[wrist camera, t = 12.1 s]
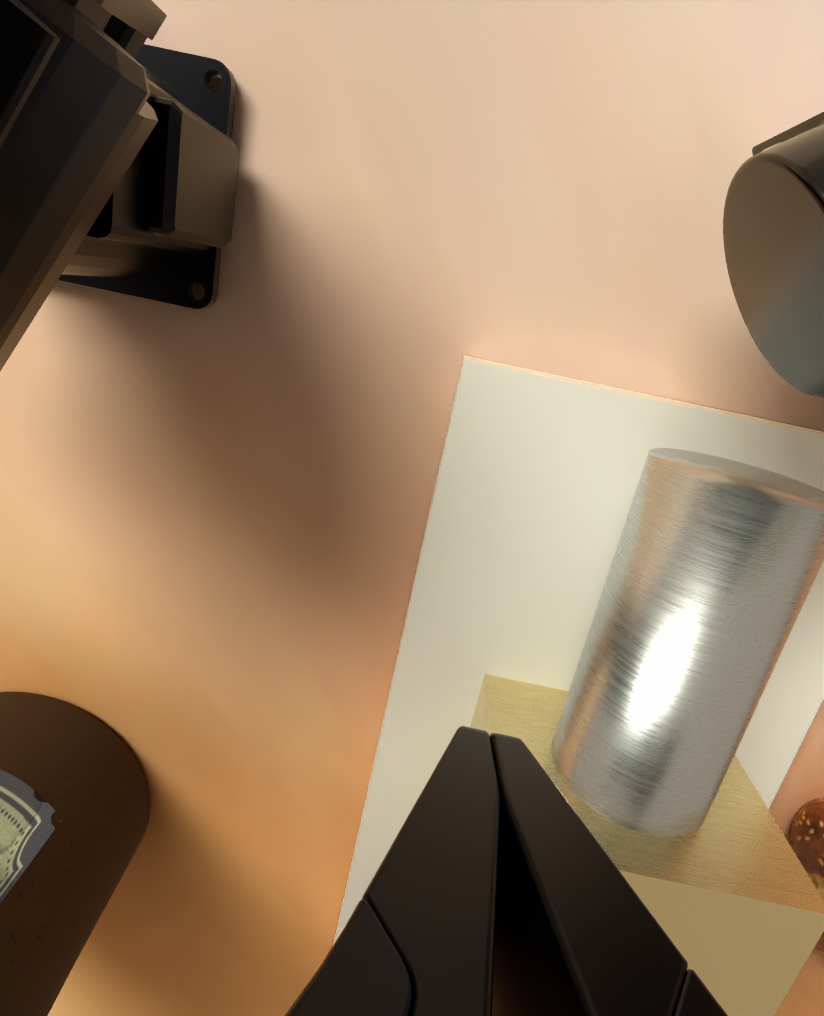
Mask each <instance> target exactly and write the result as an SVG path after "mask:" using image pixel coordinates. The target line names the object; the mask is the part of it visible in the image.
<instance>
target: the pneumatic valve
mask: <svg viewBox="0 0 824 1016" xmlns="http://www.w3.org/2000/svg"><path fill="white" fill-rule="evenodd" d="M752 152H753V156H752V157H751V158H749V159H748V160H746V161H745V162H744V163H743V164H742V165H741V166H740V168H739V169H738V170H737V172H736V173H735V175H734V177H733V179H732V181H731V184H730V186H729V189H728V192H727V196H726V201H725V207H724V217H723V238H724V250H725V257H726V263H727V269H728V273H729V278H730V282H731V286H732V289H733V292H734V296H735V298H736V301H737V304H738V307H739V309H740V312H741V314H742V317H743V319H744V322H745V324H746V326H747V328H748V330H749V332H750V334H751V336H752V338H753V339H754V341H755V343H756V345H757V346H758V348H759V350H760V351H761V353H762V354H763V355H764V357H765V358H766V360H767V361H768V362H769V364H770V365H771V366H772V367H773V368H774V370H775V371H776V372H777V373H778V374H779V375H780V376H781V377H782V378H784V379H785V380H786V381H787V382H788V383H789V384H791V385H792V386H794V387H795V388H797V389H798V390H800V391H802V392H805V393H807V394H810V395H813V396H818V397H824V112H822V113H820V114H818V115H816V116H814V117H812V118H810V119H808V120H807V121H805V122H803V123H801V124H799V125H797V126H795V127H793V128H791V129H789V130H787V131H785V132H783V133H781V134H779V135H777V136H775V137H773V138H771V139H769V140H767V141H765V142H763V143H761V144H759V145H757V146H755V147H753V149H752Z"/></svg>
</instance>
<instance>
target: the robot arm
mask: <svg viewBox="0 0 824 1016" xmlns="http://www.w3.org/2000/svg"><path fill="white" fill-rule="evenodd" d="M166 16H167V15H166V14H165V13H164V12H163V11H162V10H161V9H160V8H159V7H158V6H157V5H156V4H155V3H153V2H152V1H151V0H0V371H1V369H2V368H3V366H4V365H5V363H6V361H7V360H8V358H9V357H10V355H11V353H12V352H13V350H14V349H15V347H16V346H17V344H18V342H19V341H20V339H21V338H22V336H23V334H24V333H25V331H26V330H27V328H28V327H29V325H30V323H31V322H32V320H33V319H34V317H35V315H36V314H37V312H38V311H39V309H40V308H41V306H42V304H43V303H44V301H45V300H46V298H47V296H48V295H49V293H50V292H51V290H52V288H53V287H54V285H55V284H56V282H57V281H58V280H62V281H67V282H71V283H76V284H81V285H86V286H90V287H95V288H100V289H104V290H109V291H114V292H119V293H123V294H128V295H133V296H137V297H142V298H147V299H152V300H156V301H161V302H166V303H170V304H175V305H180V306H185V307H189V308H194V309H205V308H208V307H210V306H212V305H213V304H214V302H215V301H216V298H217V293H218V282H219V271H220V260H221V249H222V248H224V247H225V246H226V245H227V244H228V243H230V241H231V236H232V225H233V215H234V204H235V194H236V183H237V173H238V162H239V149H238V148H237V146H236V145H235V143H234V142H233V140H232V128H233V117H234V106H235V95H236V82H235V79H234V76H233V74H232V73H231V71H230V70H229V69H228V68H227V67H226V66H225V65H224V64H223V63H222V62H220V61H217V60H215V59H211V58H206V57H202V56H197V55H192V54H188V53H183V52H178V51H173V50H169V49H164V48H159V47H154V46H150V45H145V44H144V42H145V40H146V39H147V37H148V38H150V39H151V40H152V39H153V38H154V36H155V35H156V33H157V31H158V30H159V28H160V26H161V25H162V23H163V21H164V20H165V18H166ZM214 75H221V77H222V86H221V88H220V89H219V90H218V91H213V92H212V91H211V90H210V86H209V82H210V79H211V78H212V77H213V76H214ZM197 283H199V284H201V285H202V287H203V288H204V293H205V294H204V296H203V298H202V299H201V300H199V299H197V298H196V297H195V296H194V293H193V288H194V286H195V285H196V284H197ZM687 968H688V962H687V961H686V959H685V958H684V957H683V955H682V954H681V953H680V951H679V950H678V949H677V947H676V946H675V945H674V943H673V942H672V941H671V939H670V938H669V937H668V935H667V934H666V933H665V931H664V930H663V929H662V927H661V926H660V925H659V923H658V922H657V920H656V919H655V918H654V916H653V915H652V914H651V912H650V911H649V910H648V908H647V907H646V906H645V904H644V903H643V902H642V900H641V899H640V898H639V896H638V895H637V894H636V892H635V891H634V890H633V888H632V887H631V886H630V884H629V883H628V882H627V880H626V879H625V878H624V876H623V875H622V874H621V872H620V871H619V870H618V868H617V867H616V865H615V864H614V863H613V861H612V860H611V859H610V857H609V856H608V855H607V853H606V852H605V851H604V849H603V848H602V847H601V845H600V844H599V843H598V841H597V840H596V839H595V837H594V836H593V835H592V833H591V832H590V831H589V829H588V828H587V827H586V825H585V824H584V823H583V821H582V820H581V819H580V817H579V816H578V815H577V813H576V812H575V811H574V809H573V808H572V806H571V805H570V804H569V802H568V801H567V800H566V798H565V797H564V796H563V794H562V793H561V792H560V790H559V789H558V788H557V786H556V785H555V784H554V782H553V781H552V780H551V778H550V777H549V776H548V774H547V773H546V772H545V770H544V769H543V768H542V766H541V765H540V764H539V762H538V761H537V760H536V758H535V757H534V756H533V754H532V753H531V752H530V750H529V749H528V747H527V746H526V745H525V743H524V742H523V741H522V740H521V739H520V738H517V737H513V736H508V735H504V734H499V733H492V734H491V735H490V736H489V733H488V732H486V731H484V730H480V729H475V728H471V727H466V726H460V727H459V728H458V729H457V731H456V732H455V734H454V736H453V738H452V739H451V741H450V743H449V745H448V746H447V748H446V750H445V752H444V753H443V755H442V757H441V759H440V761H439V762H438V764H437V766H436V768H435V769H434V771H433V773H432V775H431V776H430V778H429V780H428V782H427V783H426V785H425V787H424V789H423V791H422V792H421V794H420V796H419V798H418V799H417V801H416V803H415V805H414V806H413V808H412V810H411V812H410V813H409V815H408V817H407V819H406V821H405V822H404V824H403V826H402V828H401V829H400V831H399V833H398V835H397V836H396V838H395V840H394V842H393V844H392V845H391V847H390V849H389V851H388V852H387V854H386V856H385V858H384V859H383V861H382V863H381V865H380V866H379V868H378V870H377V872H376V874H375V875H374V877H373V879H372V881H371V882H370V884H369V886H368V888H367V889H366V891H365V893H364V895H363V897H362V900H360V901H359V903H358V904H357V906H356V908H355V910H354V911H353V913H352V915H351V917H350V918H349V920H348V922H347V924H346V925H345V927H344V929H343V930H342V932H341V934H340V935H339V937H338V938H337V940H336V942H335V943H334V945H333V947H332V948H331V950H330V951H329V953H328V955H327V956H326V958H325V959H324V961H323V963H322V964H321V966H320V967H319V969H318V970H317V972H316V973H315V974H314V976H313V977H312V979H311V980H310V981H309V983H308V984H307V986H306V987H305V988H304V990H303V991H302V993H301V994H300V995H299V997H298V998H297V1000H296V1001H295V1002H294V1004H293V1005H292V1007H291V1008H290V1009H289V1011H288V1012H287V1013H286V1015H285V1016H728V1015H727V1014H726V1012H725V1011H724V1010H723V1008H722V1007H721V1006H720V1005H719V1003H718V1002H717V1001H716V999H715V998H714V996H713V995H712V994H711V992H710V991H709V990H708V988H707V987H706V986H705V984H704V983H703V982H702V980H701V979H700V978H699V976H698V975H697V974H696V972H695V971H694V970H692V969H688V970H687Z"/></svg>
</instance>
